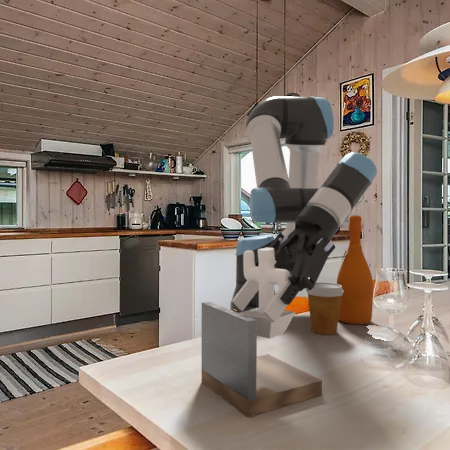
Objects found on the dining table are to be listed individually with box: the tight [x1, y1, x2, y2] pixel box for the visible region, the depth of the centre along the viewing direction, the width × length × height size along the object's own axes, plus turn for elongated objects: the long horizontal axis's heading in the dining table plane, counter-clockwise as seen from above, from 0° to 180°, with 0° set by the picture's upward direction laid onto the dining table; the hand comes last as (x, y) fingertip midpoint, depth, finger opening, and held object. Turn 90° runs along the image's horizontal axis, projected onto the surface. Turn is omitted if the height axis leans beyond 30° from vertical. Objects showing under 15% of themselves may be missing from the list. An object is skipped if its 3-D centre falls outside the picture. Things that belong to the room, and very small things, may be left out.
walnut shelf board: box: [201, 353, 323, 418], centre depth 73 cm, size 15×15×2 cm
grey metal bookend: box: [201, 301, 258, 401], centre depth 69 cm, size 2×15×12 cm, turn 31°
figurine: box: [239, 247, 296, 339], centre depth 73 cm, size 7×9×15 cm
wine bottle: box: [336, 214, 374, 325], centre depth 118 cm, size 10×10×30 cm
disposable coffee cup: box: [305, 282, 344, 336], centre depth 108 cm, size 10×10×12 cm
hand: (252, 311), depth 71 cm, fingers closed on figurine, 9 cm apart
